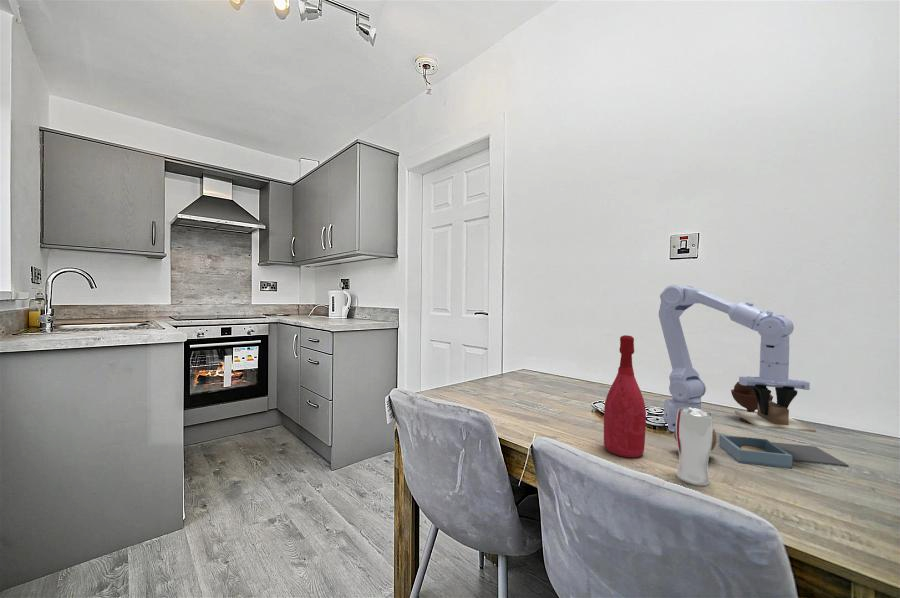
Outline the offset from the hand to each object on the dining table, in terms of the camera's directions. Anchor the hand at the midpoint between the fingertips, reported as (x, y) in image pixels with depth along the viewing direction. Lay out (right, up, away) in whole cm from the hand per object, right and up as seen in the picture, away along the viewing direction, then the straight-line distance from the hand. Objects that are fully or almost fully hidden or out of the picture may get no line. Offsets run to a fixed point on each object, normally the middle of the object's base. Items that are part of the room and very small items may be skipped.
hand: (772, 415), depth 99 cm
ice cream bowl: (+16, -11, +28) cm, 34 cm away
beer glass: (-30, -10, -14) cm, 34 cm away
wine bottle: (-38, -10, 0) cm, 39 cm away
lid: (0, -2, 0) cm, 2 cm away
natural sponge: (-21, -10, -2) cm, 24 cm away
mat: (+8, -11, +2) cm, 14 cm away
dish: (-6, -10, -1) cm, 12 cm away
